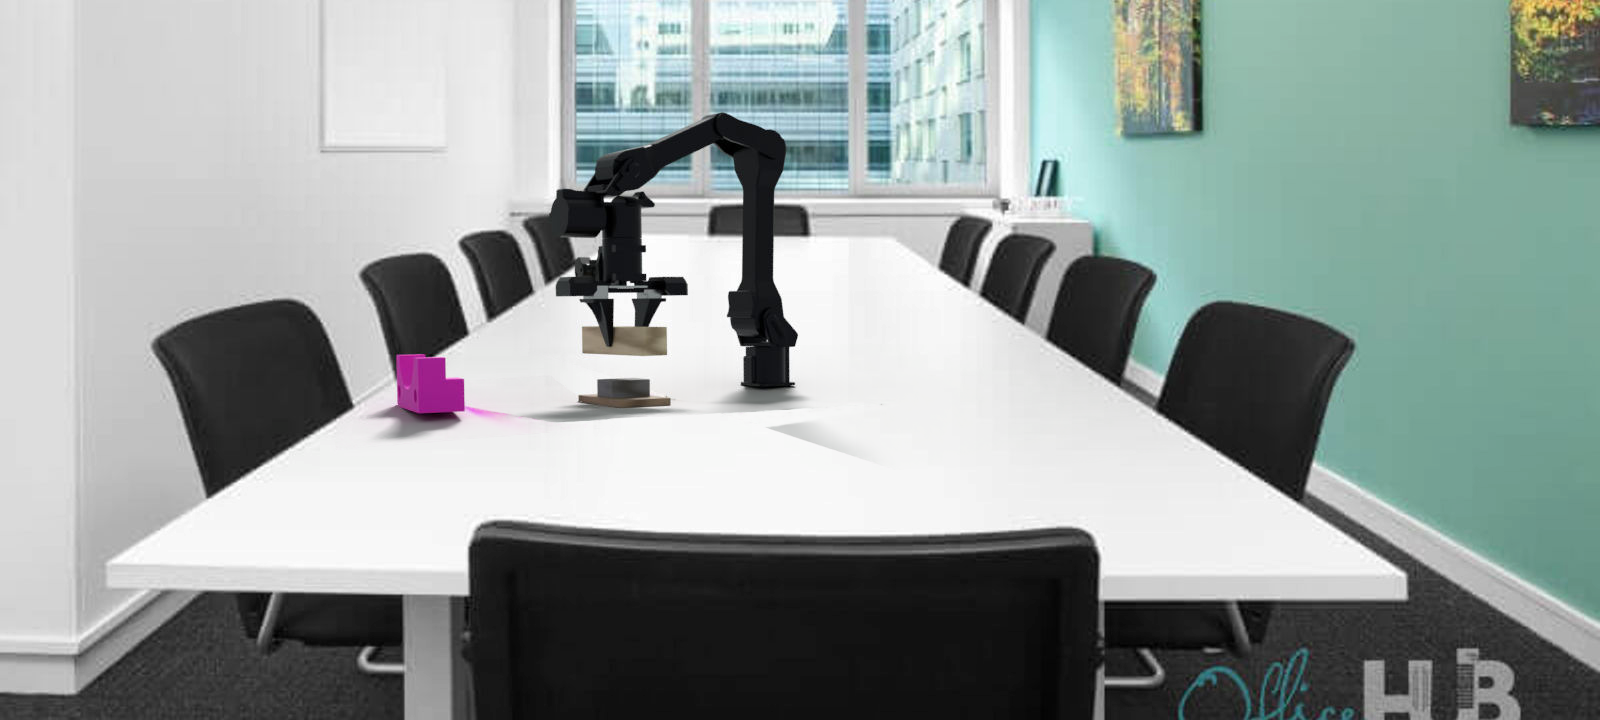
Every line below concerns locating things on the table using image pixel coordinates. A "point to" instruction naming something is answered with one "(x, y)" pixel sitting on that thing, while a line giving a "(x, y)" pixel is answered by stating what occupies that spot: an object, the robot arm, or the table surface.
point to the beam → (626, 341)
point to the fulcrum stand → (624, 393)
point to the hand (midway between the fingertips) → (623, 346)
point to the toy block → (427, 385)
